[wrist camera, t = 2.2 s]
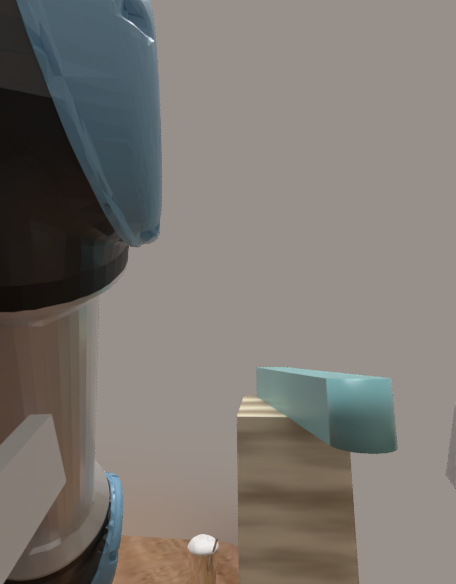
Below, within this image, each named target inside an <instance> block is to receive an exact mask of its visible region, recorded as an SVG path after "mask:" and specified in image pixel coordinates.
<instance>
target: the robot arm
mask: <svg viewBox="0 0 456 584" xmlns="http://www.w3.org/2000/svg"><path fill="white" fill-rule="evenodd" d="M160 120H161V119H160V97H159V77H158V60H157V47H156V35H155V26H154V18H153V12H152V7H151V3H150V0H0V584H112V582H113V579H114V575H115V572H116V567H117V562H118V549H119V547H120V541H121V531H122V518H123V493H122V484H121V480H120V479H119V477H118V476H117V475H116V474H114V473H107V472H104V470H103V469H102V467H101V466H100V465H99V463H98V462H97V461H96V460H95V428H96V392H97V391H96V390H97V356H98V320H99V295H100V294H102V293H103V292H105V291H106V290H108V289H109V288H111V287H112V286H113V285H114V284H115V283H116V282H117V281H118V280H119V279H120V278H121V277H122V275H123V274H124V272H125V270H126V266H127V262H128V248H129V246H130V247H140V246H141V245H142V244H149V243H152V242H154V241H155V240H156V239H157V238H158V236H159V233H160V232H159V227H160V215H161V206H162V157H161V156H162V154H161V121H160ZM446 476H447V478H448V479H449V480H450V482H451V483H452V484H453V486H454V487H455V489H456V404H455V409H454V416H453V424H452V432H451V439H450V447H449V454H448V462H447V469H446Z"/></svg>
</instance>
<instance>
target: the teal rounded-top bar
mask: <svg viewBox="0 0 456 584" xmlns="http://www.w3.org/2000/svg"><path fill="white" fill-rule="evenodd" d="M256 374H257V397H258V398H260V399H261V400H263V401H264V402H266V403H267V404H269V405H270V406H272V407H273V408H275V409H276V410H278V411H279V412H281V413H282V414H284V415H285V416H287V417H288V418H290V419H291V420H293V421H294V422H295V423H297V424H298V425H300V426H301V427H303V428H304V429H306V430H307V431H309V432H310V433H312V434H313V435H315V436H316V437H318V438H319V439H321V440H322V441H324V442H325V443H327V444H328V445H330V446H331V447H334V448H336V449H340V450H344V451H349V452H356V453H368V454H372V453H373V454H379V453H389V452H393V451H396V450H397V448H398V447H397V436H396V426H395V415H394V404H393V394H392V382H391V378H384V377H373V376H364V375H355V374H345V373H336V372H326V371H316V370H306V369H297V368H288V367H257V368H256Z"/></svg>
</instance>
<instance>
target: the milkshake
mask: <svg viewBox="0 0 456 584" xmlns="http://www.w3.org/2000/svg"><path fill="white" fill-rule="evenodd" d="M217 541H218V539H216V540H215V539H214V538H213V537H212V536H209V535H205V534H200V535H198V536H196V537H194V538H192V540H191V541H190V542H189V544H188V558H189V569H190V583H191V584H216V570H217V558H218V547H219V545H218V542H217Z"/></svg>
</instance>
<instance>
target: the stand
mask: <svg viewBox="0 0 456 584" xmlns="http://www.w3.org/2000/svg"><path fill="white" fill-rule="evenodd" d="M237 453H238V454H237V459H238V543H239V544H238V548H239V584H359V577H358V563H357V562H358V561H357V548H356V533H355V518H354V503H353V488H352V474H351V459H350V452H349V451H344V450H340V449H336V448H334V447H331V446H330V445H328V444H327V443H325V442H324V441H322V440H321V439H319V438H318V437H316V436H315V435H313V434H312V433H310V432H309V431H307V430H306V429H304V428H303V427H301V426H300V425H298V424H297V423H295V422H294V421H293V420H291V419H290V418H288V417H287V416H285V415H284V414H282V413H281V412H279V411H278V410H276V409H275V408H273V407H272V406H270V405H269V404H267V403H266V402H264V401H263V400H261V399H260V398H258V397H257V396H244V398H243V401H242V403H241V406H240V409H239V412H238V415H237Z"/></svg>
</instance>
